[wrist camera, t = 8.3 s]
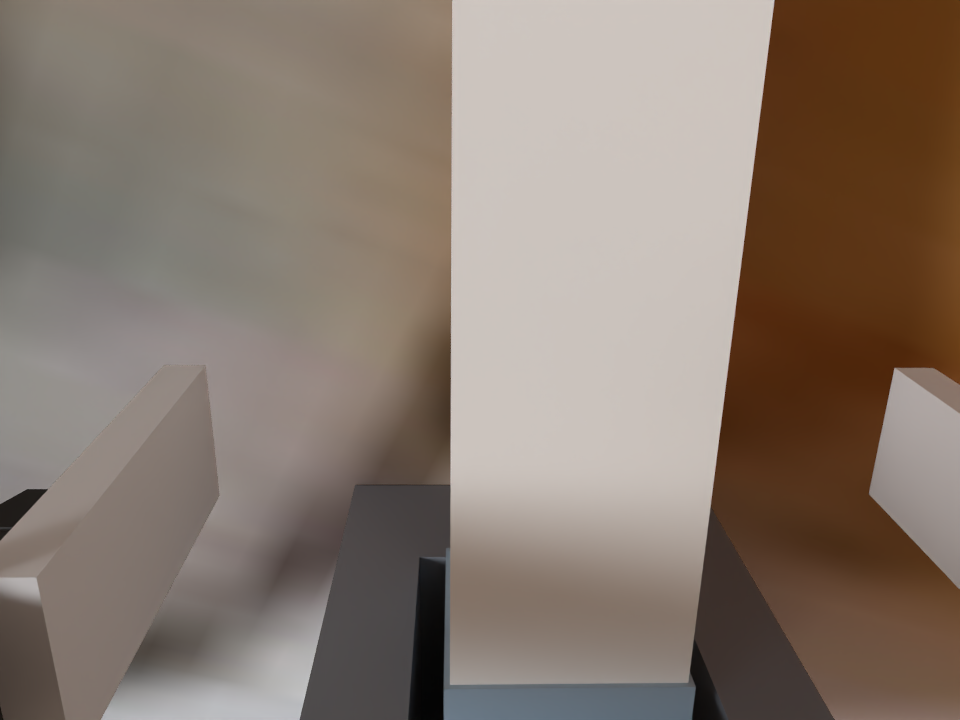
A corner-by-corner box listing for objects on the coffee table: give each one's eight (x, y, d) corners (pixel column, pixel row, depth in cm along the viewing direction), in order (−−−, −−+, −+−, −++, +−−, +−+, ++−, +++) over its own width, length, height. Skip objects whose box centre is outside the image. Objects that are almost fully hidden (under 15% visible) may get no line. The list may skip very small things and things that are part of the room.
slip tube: (447, -383, 12) (443, -601, 8) (730, -373, 12) (861, -583, 8) (445, 665, 18) (443, 829, 15) (630, 664, 19) (677, 826, 15)
